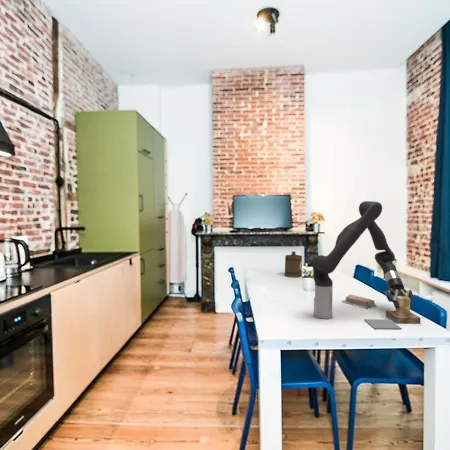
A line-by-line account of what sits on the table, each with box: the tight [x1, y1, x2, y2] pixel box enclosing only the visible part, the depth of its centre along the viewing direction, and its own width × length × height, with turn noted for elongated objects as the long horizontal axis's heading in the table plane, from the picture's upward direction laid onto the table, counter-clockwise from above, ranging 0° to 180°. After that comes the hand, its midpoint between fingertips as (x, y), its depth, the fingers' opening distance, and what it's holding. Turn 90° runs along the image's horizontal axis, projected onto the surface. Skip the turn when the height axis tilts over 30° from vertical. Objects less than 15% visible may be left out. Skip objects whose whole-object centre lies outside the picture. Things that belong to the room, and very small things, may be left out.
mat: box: [364, 318, 402, 330], centre depth 166 cm, size 13×13×1 cm
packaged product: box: [341, 293, 377, 310], centre depth 203 cm, size 18×5×10 cm
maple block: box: [394, 296, 411, 316], centre depth 173 cm, size 5×5×9 cm
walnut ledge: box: [385, 310, 421, 325], centre depth 174 cm, size 12×12×3 cm
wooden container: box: [284, 250, 303, 278], centre depth 293 cm, size 15×15×22 cm
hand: (404, 308), depth 172 cm, fingers open, 6 cm apart
